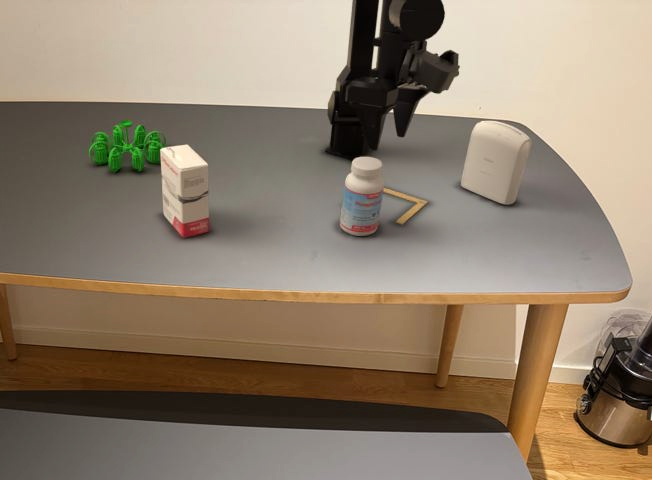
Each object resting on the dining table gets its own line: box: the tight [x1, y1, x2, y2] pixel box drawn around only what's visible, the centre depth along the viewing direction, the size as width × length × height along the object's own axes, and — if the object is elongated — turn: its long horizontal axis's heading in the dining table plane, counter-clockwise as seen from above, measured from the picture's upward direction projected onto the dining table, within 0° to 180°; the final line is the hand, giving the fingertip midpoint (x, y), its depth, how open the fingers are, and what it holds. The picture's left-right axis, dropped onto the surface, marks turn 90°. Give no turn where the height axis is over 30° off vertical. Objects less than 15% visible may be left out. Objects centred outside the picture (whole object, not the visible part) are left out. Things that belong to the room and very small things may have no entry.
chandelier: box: [88, 119, 167, 173], centre depth 137 cm, size 15×15×7 cm
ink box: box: [160, 143, 210, 239], centre depth 117 cm, size 8×5×12 cm, turn 26°
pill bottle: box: [339, 156, 385, 237], centre depth 116 cm, size 6×6×11 cm
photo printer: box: [460, 120, 532, 206], centre depth 125 cm, size 10×4×12 cm, turn 39°
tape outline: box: [383, 187, 429, 226], centre depth 125 cm, size 10×9×1 cm
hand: (387, 143), depth 110 cm, fingers open, 9 cm apart
